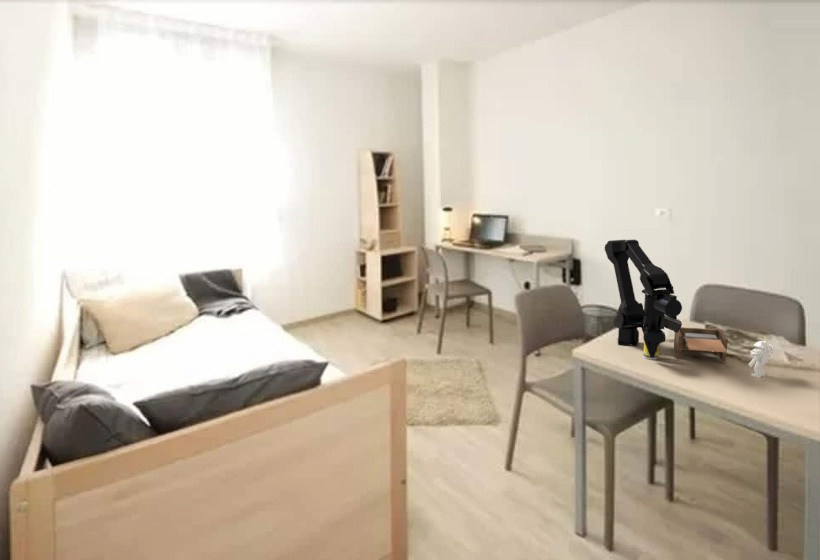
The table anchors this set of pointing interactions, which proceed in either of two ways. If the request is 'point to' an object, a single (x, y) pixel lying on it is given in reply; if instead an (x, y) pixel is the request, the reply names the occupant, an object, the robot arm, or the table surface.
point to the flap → (703, 342)
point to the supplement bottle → (647, 355)
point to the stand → (679, 336)
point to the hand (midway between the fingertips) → (651, 352)
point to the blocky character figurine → (760, 358)
